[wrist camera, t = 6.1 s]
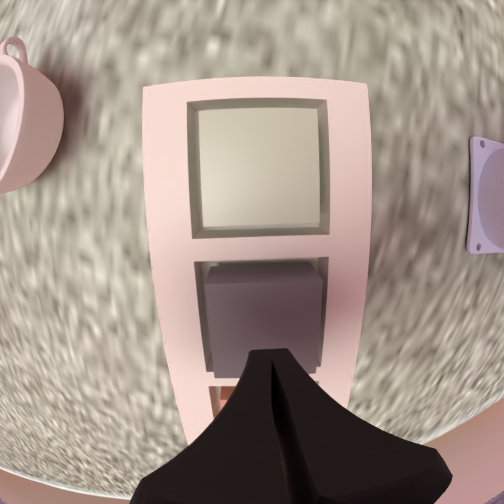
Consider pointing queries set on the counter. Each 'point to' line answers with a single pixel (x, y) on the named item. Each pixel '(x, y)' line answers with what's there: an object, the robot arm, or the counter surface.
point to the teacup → (26, 119)
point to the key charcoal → (263, 313)
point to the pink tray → (255, 227)
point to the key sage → (259, 166)
